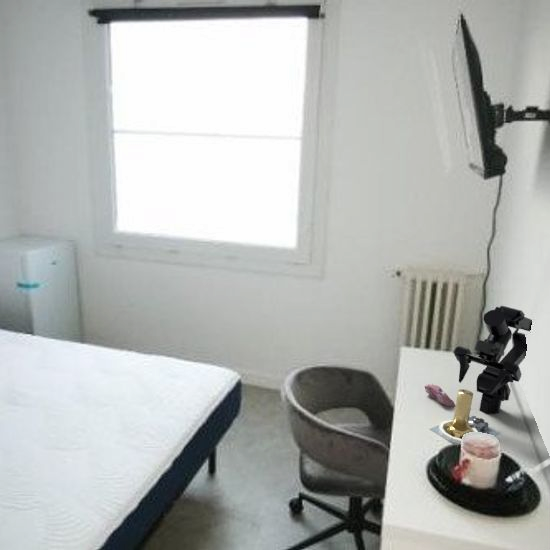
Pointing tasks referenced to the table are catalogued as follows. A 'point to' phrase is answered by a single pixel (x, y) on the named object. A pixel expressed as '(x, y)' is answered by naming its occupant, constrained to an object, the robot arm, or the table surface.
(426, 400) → the table surface
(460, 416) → the brass gear
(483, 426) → the fixed gear
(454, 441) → the gear board
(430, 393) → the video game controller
